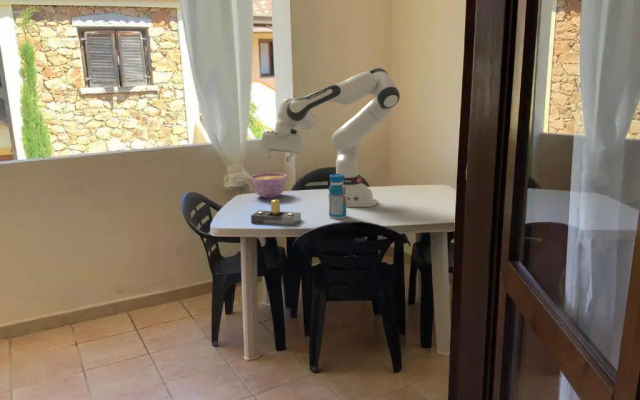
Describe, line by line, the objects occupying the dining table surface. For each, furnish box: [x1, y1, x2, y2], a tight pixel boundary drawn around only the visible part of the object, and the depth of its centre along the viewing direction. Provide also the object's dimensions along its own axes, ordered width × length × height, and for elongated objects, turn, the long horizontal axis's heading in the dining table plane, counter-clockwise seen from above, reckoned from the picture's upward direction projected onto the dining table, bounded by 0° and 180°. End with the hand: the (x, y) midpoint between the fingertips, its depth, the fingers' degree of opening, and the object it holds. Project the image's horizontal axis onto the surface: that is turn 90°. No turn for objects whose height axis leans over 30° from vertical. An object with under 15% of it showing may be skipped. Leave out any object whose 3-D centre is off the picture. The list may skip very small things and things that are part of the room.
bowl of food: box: [250, 172, 288, 199], centre depth 288 cm, size 20×20×12 cm
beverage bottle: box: [327, 173, 347, 220], centre depth 243 cm, size 8×8×20 cm
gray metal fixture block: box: [250, 210, 302, 226], centre depth 240 cm, size 21×9×4 cm, turn 73°
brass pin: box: [270, 199, 281, 216], centre depth 239 cm, size 4×4×10 cm
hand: (278, 160), depth 242 cm, fingers open, 8 cm apart
